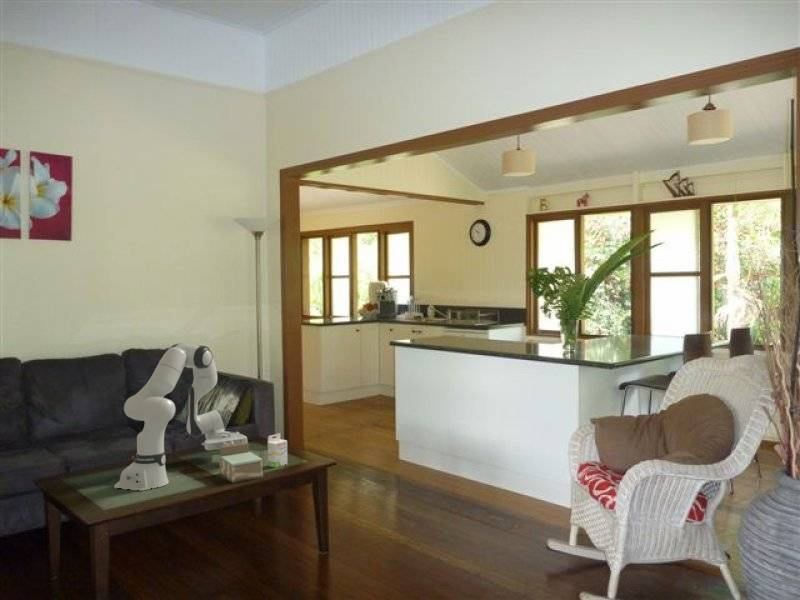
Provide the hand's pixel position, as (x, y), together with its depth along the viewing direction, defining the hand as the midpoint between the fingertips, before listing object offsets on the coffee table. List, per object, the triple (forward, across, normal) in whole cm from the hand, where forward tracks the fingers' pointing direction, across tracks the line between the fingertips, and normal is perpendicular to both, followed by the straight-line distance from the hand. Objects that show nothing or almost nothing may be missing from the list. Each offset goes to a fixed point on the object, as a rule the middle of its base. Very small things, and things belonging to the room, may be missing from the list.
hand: (230, 445), depth 311 cm
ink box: (+9, +20, +11) cm, 24 cm away
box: (+14, 0, +11) cm, 18 cm away
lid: (+14, 0, +3) cm, 14 cm away
